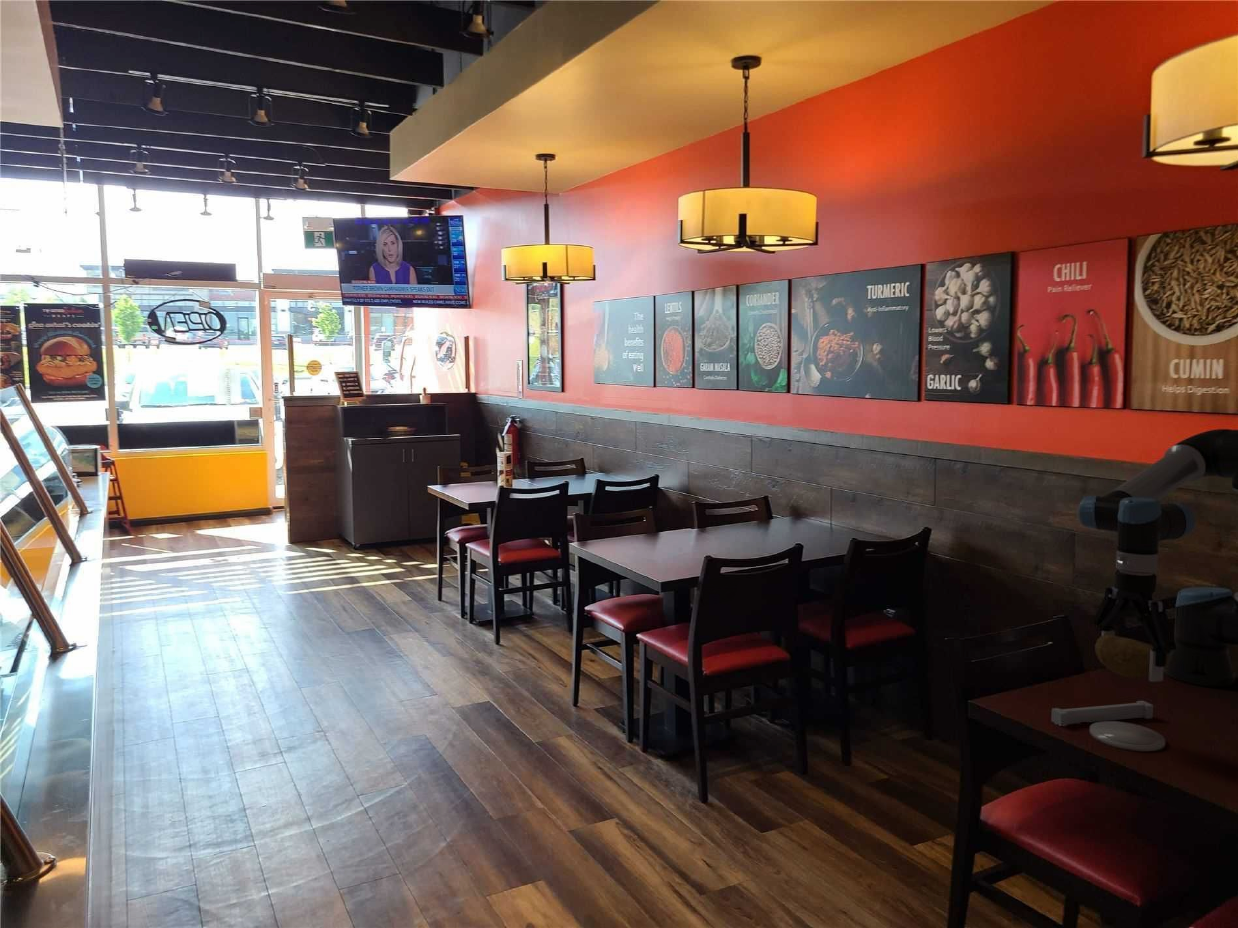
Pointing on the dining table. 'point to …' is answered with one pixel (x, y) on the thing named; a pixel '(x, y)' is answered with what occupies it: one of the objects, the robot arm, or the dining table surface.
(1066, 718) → the rail
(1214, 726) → the dining table surface
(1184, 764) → the dining table surface
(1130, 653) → the potato
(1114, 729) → the plate
